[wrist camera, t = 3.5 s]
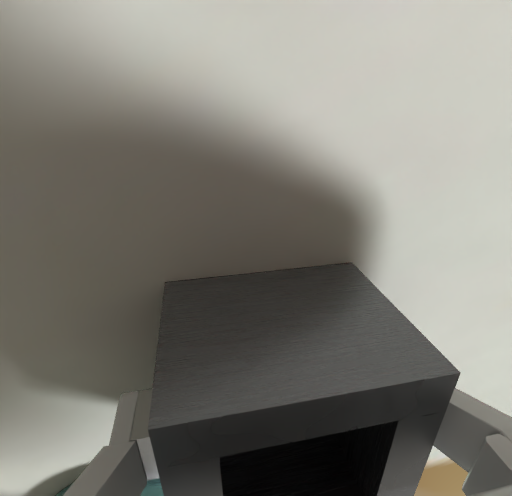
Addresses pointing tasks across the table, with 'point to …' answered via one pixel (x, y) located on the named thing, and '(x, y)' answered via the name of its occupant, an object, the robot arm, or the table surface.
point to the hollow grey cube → (293, 387)
